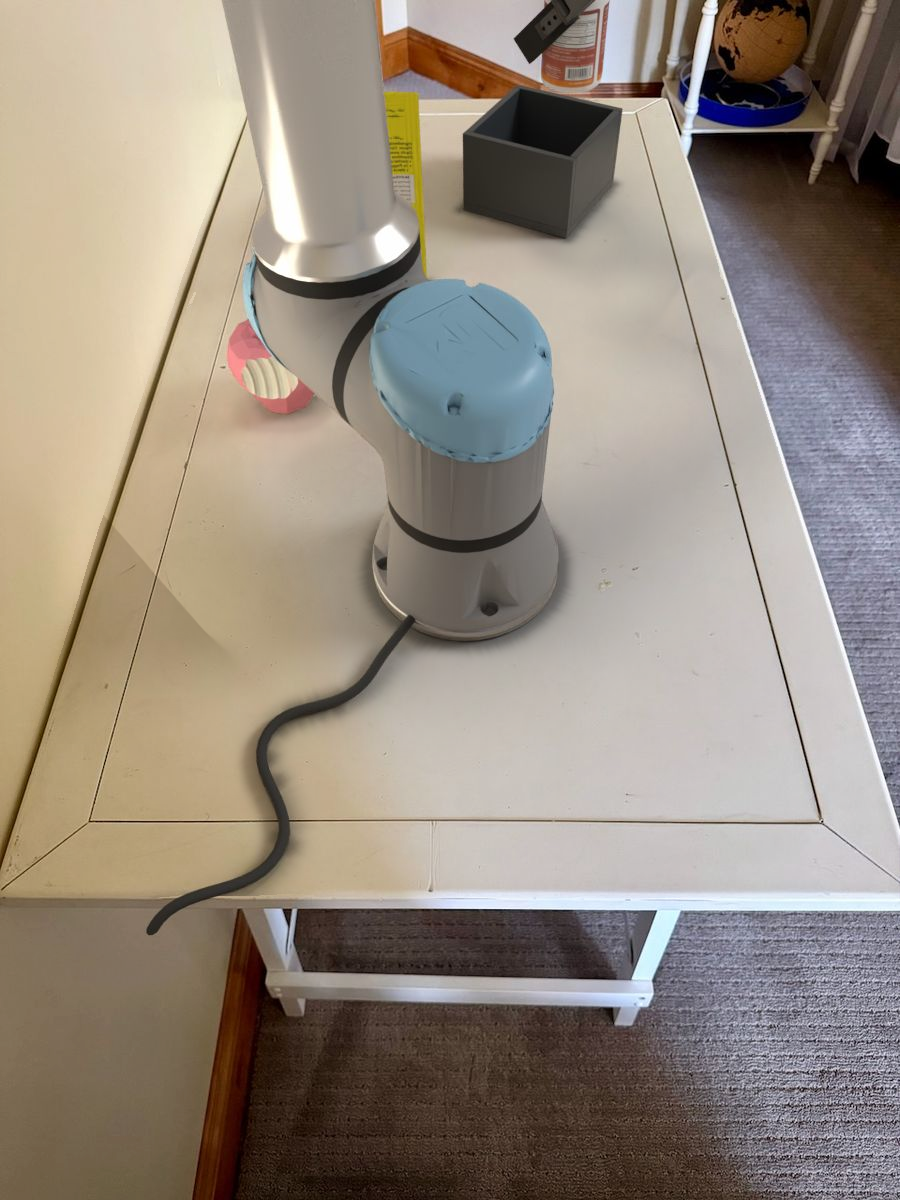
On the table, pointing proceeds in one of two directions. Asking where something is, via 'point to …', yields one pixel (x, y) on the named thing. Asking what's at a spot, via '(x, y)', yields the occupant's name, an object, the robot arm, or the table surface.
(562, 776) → the table surface
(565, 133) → the trash bin
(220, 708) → the table surface
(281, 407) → the apple
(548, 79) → the pill bottle
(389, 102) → the food package
